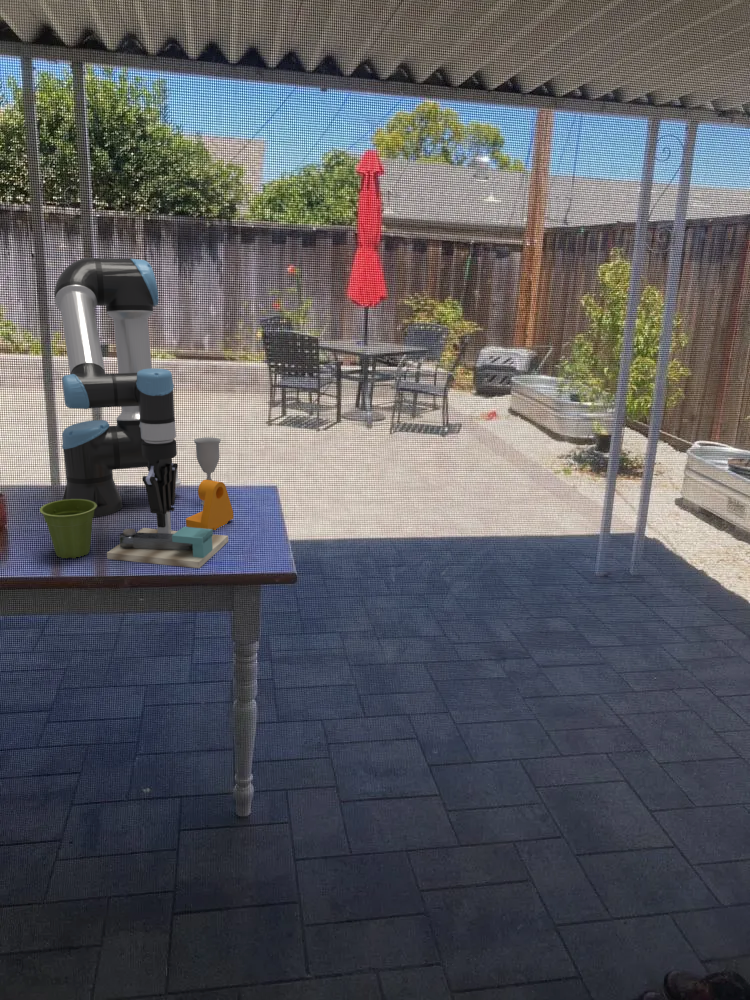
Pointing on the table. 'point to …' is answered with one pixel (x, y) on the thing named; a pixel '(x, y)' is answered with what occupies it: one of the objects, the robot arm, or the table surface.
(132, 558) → the base board
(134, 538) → the link
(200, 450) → the chalice
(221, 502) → the bracket
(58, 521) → the plant pot
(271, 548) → the table surface
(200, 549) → the block
